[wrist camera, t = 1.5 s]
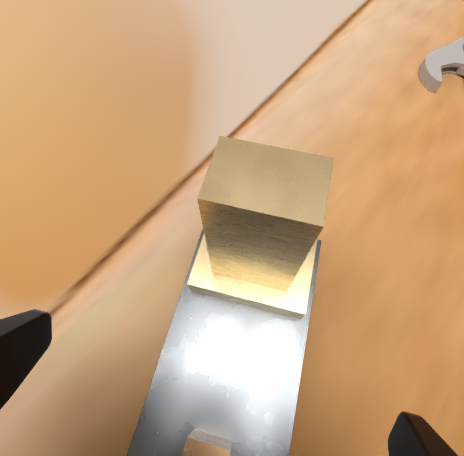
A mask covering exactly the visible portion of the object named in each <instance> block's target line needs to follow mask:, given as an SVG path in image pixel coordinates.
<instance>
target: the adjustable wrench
mask: <svg viewBox="0 0 464 456" xmlns="http://www.w3.org/2000/svg"><path fill="white" fill-rule="evenodd" d="M446 73H448V74H455V75H462V76H464V36H463V37H462V38H460V39H459V40H457V41H455V42H453V43H451V44H449V45H446V46H444V47H441V48H438V49H436V50H433V51H432V52H430V53H429V54H428V55H427V57H426V58H425V60H424V62H423V63H422V65H421V67H420V69H419V78H420V80H421V82H422V84H423V85H424V86H425V87H426V88H427V89H428V90H429V91H431V92H433V93H435V92H436V91H437V89H438V88H439V86H440V85H441V84H442V82H443V81H442V74H446Z"/></svg>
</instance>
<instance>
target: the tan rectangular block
mask: <svg viewBox="0 0 464 456" xmlns="http://www.w3.org/2000/svg"><path fill="white" fill-rule="evenodd" d="M333 160H334V158H330V157H325V156H320V155H315V154H309V153H304V152H299V151H294V150H289V149H284V148H279V147H274V146H269V145H264V144H259V143H254V142H249V141H243V140H238V139H233V138H228V137H223V136H220V137H219V140H218V143H217V146H216V148H215V151H214V154H213V157H212V159H211V162H210V165H209V168H208V171H207V173H206V176H205V179H204V182H203V184H202V187H201V190H200V193H199V196H198V198H197V199H198V204H199V209H200V214H201V219H202V224H203V229H204V235H203V238H202V241H201V244H200V247H199V250H198V253H197V256H196V259H195V262H194V265H193V268H192V271H191V274H190V277H189V280H188V283H187V285H188V287H189V289H190V291H193V292H197V293H201V294H205V295H209V296H213V297H216V298H220V299H224V300H228V301H232V302H236V303H240V304H243V305H247V306H251V307H255V308H259V309H263V310H267V311H270V312H274V313H278V314H282V315H286V316H290V317H294V318H297V319H302V318H303V317H304V316H305V315H306V309H307V303H308V296H309V290H310V284H311V277H312V271H313V265H314V258H315V252H316V246H317V239H318V235H319V234H320V232H321V230H322V228H323V226H324V219H325V213H326V206H327V200H328V193H329V186H330V180H331V173H332V167H333Z"/></svg>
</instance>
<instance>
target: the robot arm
mask: <svg viewBox="0 0 464 456" xmlns="http://www.w3.org/2000/svg"><path fill="white" fill-rule="evenodd" d="M51 340H52V321H51V315H50V314H49V313H48V312H44V311H41V310H36V309H34V310H30V311H27V312H24V313H20V314H17V315H14V316H10V317H7V318H4V319H0V409H1V408H2V407H3V406H4V405H5V403H6V402H7V401H8V400H9V399H10V397H11V396H12V395H13V394H14V392H15V391H16V390H17V388H18V387H19V386H20V384H21V383H22V382H23V380H24V379H25V378H26V376H27V375H28V374H29V372H30V371H31V370H32V369H33V367H34V366H35V365H36V363H37V362H38V361H39V359H40V358H41V357H42V355H43V354H44V353H45V351H46V350H47V349H48V347H49V345H50V343H51ZM388 451H389V456H458V455H457V454H456V453H455V452H454V451H453V450H452V449H451V448H450V446H449V445H448V444H447V443H446V442H445V441H444V440H443V439H442V438H441V437H440V436H439V435H438V434H437V433H436V431H435V430H434V429H433V428H432V427H431V426H430V425H429V424H428V423H427V422H426V421H425V420H424V419H423V418H422V417H421V416H419V415H416V414H412V413H408V412H401V413H400V414H399V415H398V417H397V419H396V422H395V424H394V426H393V428H392V430H391V432H390V434H389V438H388Z"/></svg>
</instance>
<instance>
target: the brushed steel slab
mask: <svg viewBox="0 0 464 456" xmlns="http://www.w3.org/2000/svg"><path fill="white" fill-rule="evenodd" d="M203 235H204V229H203V230H202V233H201V236H200V239H199V242H198V245H197V248H196V251H195V254H194V257H193V260H192V263H191V266H190V269H189V272H188V275H187V278H186V281H185V284H184V287H183V290H182V293H181V296H180V299H179V301H178V304H177V307H176V310H175V313H174V316H173V319H172V322H171V325H170V328H169V331H168V334H167V337H166V340H165V343H164V346H163V349H162V352H161V355H160V358H159V361H158V364H157V367H156V370H155V373H154V376H153V379H152V382H151V385H150V388H149V391H148V394H147V397H146V400H145V403H144V406H143V409H142V412H141V415H140V418H139V421H138V424H137V427H136V430H135V433H134V436H133V439H132V442H131V445H130V448H129V451H128V454H127V456H289V450H290V443H291V437H292V430H293V424H294V417H295V410H296V404H297V397H298V391H299V384H300V377H301V371H302V364H303V358H304V351H305V344H306V338H307V331H308V325H309V318H310V311H311V305H312V298H313V292H314V285H315V278H316V272H317V265H318V259H319V252H320V245H321V240H317V246H316V252H315V258H314V265H313V271H312V277H311V284H310V290H309V296H308V303H307V309H306V315H305V316H304V317H303V318H302V319H297V318H294V317H290V316H286V315H282V314H278V313H274V312H270V311H267V310H263V309H259V308H255V307H251V306H247V305H243V304H240V303H236V302H232V301H228V300H224V299H220V298H216V297H213V296H209V295H205V294H201V293H197V292H193V291H190V289H189V287H188V285H187V283H188V280H189V277H190V274H191V271H192V268H193V265H194V262H195V259H196V256H197V253H198V250H199V247H200V244H201V241H202V238H203Z"/></svg>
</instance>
